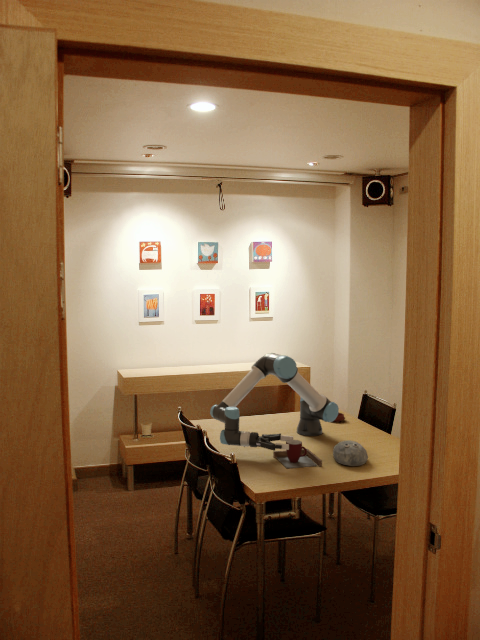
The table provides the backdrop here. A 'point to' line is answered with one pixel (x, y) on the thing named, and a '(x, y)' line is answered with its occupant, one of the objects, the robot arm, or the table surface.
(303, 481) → the table surface
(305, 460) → the tray
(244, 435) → the robot arm
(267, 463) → the table surface
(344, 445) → the decorative stone
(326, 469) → the table surface
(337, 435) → the table surface
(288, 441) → the mug
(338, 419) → the pottery
